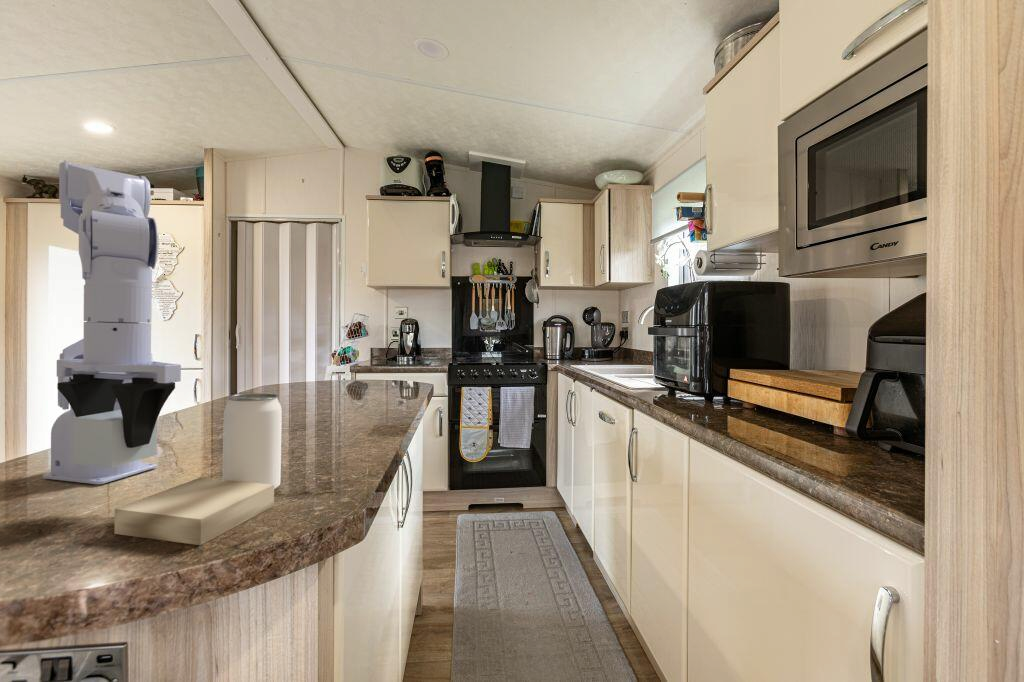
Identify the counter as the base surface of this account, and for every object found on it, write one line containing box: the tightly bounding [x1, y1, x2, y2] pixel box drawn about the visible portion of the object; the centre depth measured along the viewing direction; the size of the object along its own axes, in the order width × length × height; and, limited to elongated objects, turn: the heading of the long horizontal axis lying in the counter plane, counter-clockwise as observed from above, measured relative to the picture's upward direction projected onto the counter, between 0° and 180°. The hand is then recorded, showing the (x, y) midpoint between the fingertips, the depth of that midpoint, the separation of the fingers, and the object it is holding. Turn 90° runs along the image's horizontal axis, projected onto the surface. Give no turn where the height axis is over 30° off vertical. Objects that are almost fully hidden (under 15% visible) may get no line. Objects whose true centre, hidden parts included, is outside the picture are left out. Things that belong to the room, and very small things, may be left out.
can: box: [222, 392, 283, 491], centre depth 58 cm, size 6×6×12 cm
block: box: [74, 410, 158, 468], centre depth 51 cm, size 5×5×5 cm
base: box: [114, 477, 275, 546], centre depth 49 cm, size 10×10×2 cm
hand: (117, 443), depth 51 cm, fingers closed on block, 5 cm apart
